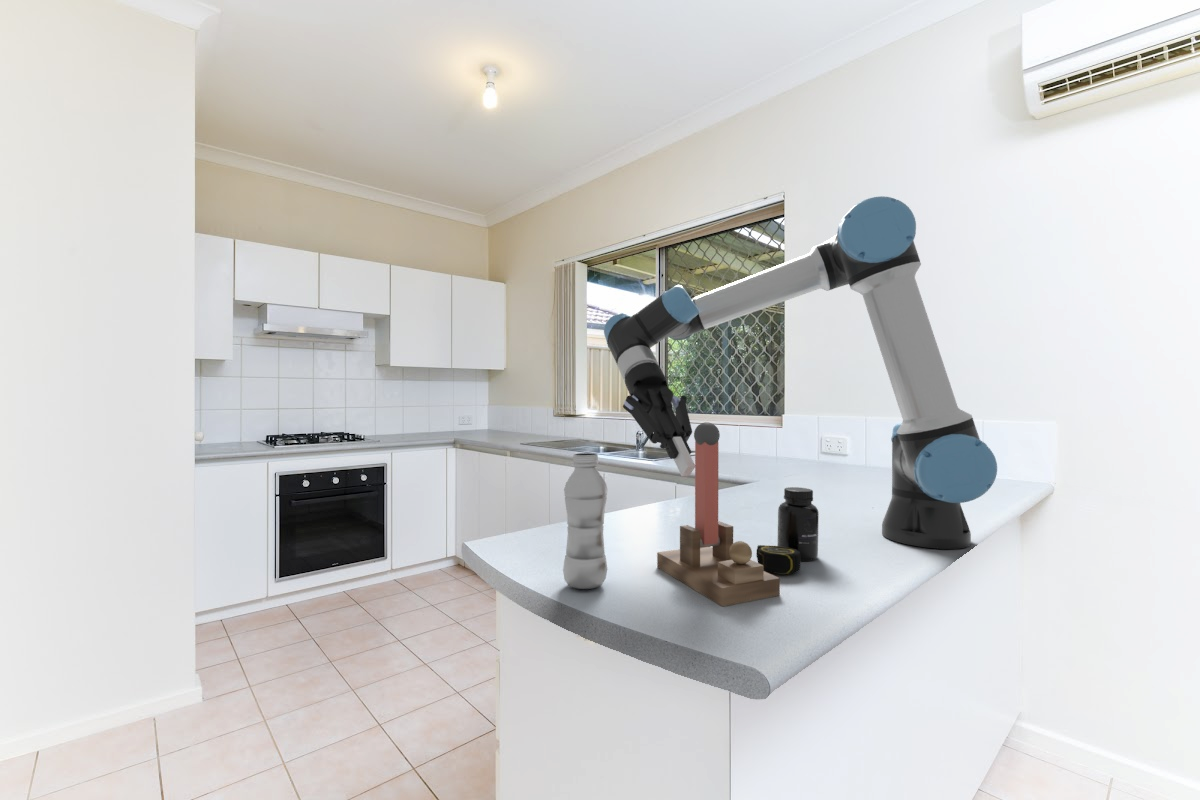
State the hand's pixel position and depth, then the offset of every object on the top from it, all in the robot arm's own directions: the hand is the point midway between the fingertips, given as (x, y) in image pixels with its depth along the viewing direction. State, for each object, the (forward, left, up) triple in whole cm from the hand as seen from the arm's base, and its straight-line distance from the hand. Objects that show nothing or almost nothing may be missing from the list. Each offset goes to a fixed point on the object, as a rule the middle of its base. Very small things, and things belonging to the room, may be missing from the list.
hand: (688, 471), depth 90 cm
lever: (-2, +5, -11) cm, 12 cm away
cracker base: (-3, +7, -16) cm, 18 cm away
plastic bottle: (+17, +10, -16) cm, 25 cm away
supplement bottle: (-20, -6, -16) cm, 27 cm away
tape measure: (-14, +1, -16) cm, 22 cm away
